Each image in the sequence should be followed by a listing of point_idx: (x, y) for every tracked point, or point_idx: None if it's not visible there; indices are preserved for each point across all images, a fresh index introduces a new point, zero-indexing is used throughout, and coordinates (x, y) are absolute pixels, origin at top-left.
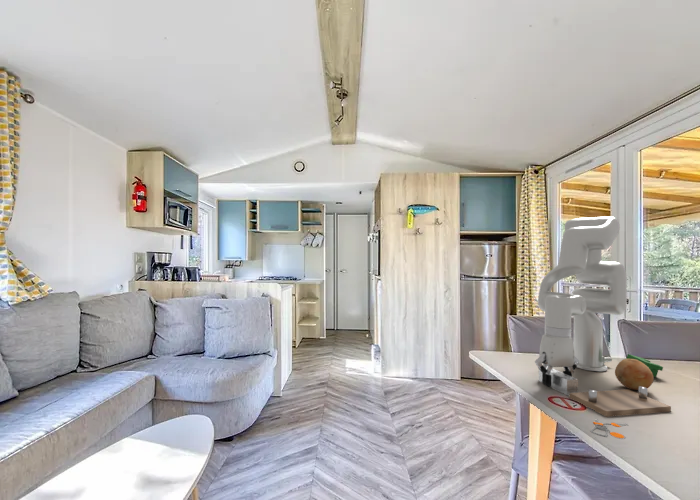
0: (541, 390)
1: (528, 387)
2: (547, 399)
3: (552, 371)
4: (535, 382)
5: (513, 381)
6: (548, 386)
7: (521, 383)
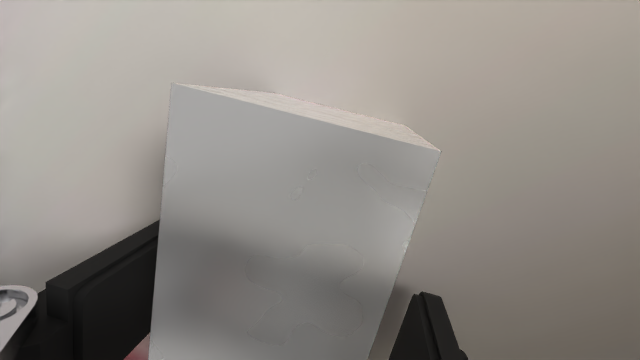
0: None
1: (50, 174)
2: None
3: (222, 348)
4: None
5: (6, 7)
6: None
7: (49, 80)
